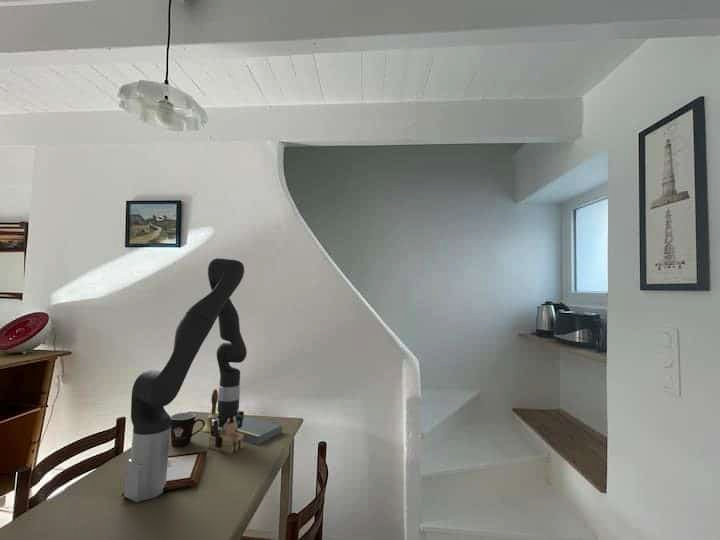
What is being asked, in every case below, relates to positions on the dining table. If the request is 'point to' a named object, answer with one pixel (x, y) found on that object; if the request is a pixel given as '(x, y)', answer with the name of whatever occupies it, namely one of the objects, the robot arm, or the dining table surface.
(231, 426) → the block
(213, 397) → the hand bell
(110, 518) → the dining table surface
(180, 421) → the coffee mug
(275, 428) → the dock
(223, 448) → the tan boxy piece
